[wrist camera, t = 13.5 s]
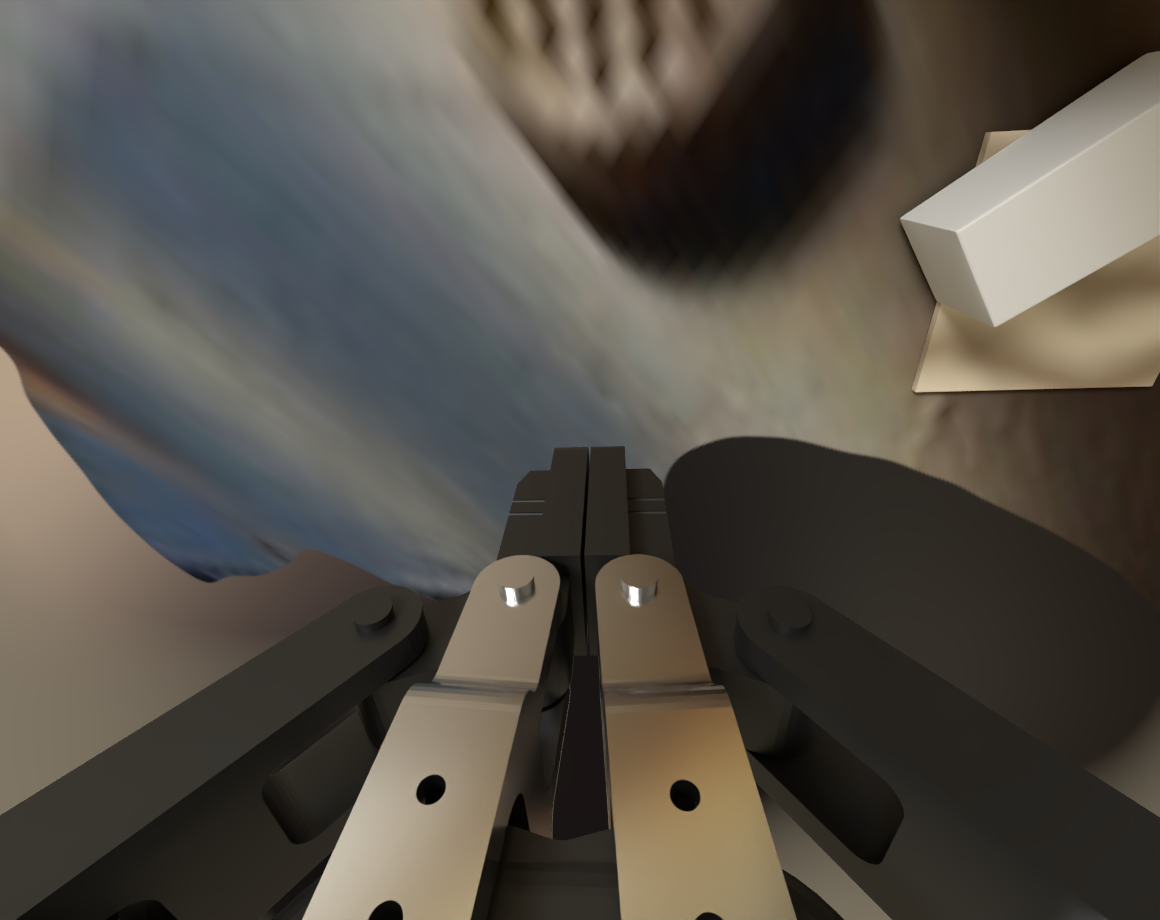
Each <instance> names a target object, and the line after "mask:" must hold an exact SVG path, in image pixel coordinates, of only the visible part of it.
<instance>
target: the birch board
mask: <svg viewBox="0 0 1160 920" xmlns="http://www.w3.org/2000/svg"><path fill="white" fill-rule="evenodd" d="M1029 131H1031V130H1019V131H1001V132H986V133H985V136H984V139H983V143H982V146H981V150H980V153H979V157H978V160H977V164H976V167H977V166H978V165H980V164H981V163H983V162H984V161H986V160H987V159H989V158H990V157H992V156H993V155H995V154H996V153H998V152H999V151H1001V150H1002V149H1004V148H1005V147H1007V146H1008V145H1010V144H1011V143H1013V142H1014V141H1016V140H1017V139H1019V138H1020V137H1022V136H1023V135H1025V134H1026V133H1028V132H1029ZM1159 372H1160V235H1159V236H1157V237H1155V238H1153V239H1152V240H1150V241H1148V242H1146V243H1144V244H1143V245H1141V246H1139V247H1137V248H1136V249H1134V250H1132V251H1130V252H1129V253H1127V254H1125V255H1123V256H1121V257H1120V258H1118V259H1116V260H1114V261H1113V262H1111V263H1109V264H1107V265H1105V266H1104V267H1102V268H1100V269H1098V270H1097V271H1095V272H1093V273H1091V274H1089V275H1088V276H1086V277H1084V278H1082V279H1081V280H1079V281H1077V282H1075V283H1074V284H1072V285H1070V286H1068V287H1066V288H1065V289H1063V290H1061V291H1059V292H1058V293H1056V294H1054V295H1052V296H1050V297H1049V298H1047V299H1045V300H1043V301H1042V302H1040V303H1038V304H1036V305H1034V306H1033V307H1031V308H1029V309H1027V310H1026V311H1024V312H1022V313H1020V314H1019V315H1017V316H1015V317H1013V318H1011V319H1010V320H1008V321H1006V322H1004V323H1003V324H1001V325H999V326H997V327H991V326H989V325H987V324H985V323H983V322H980V321H978V320H976V319H974V318H972V317H970V316H968V315H965V314H963V313H961V312H959V311H957V310H955V309H953V308H950V307H948V306H946V305H944V304H942V303H940V302H938V301H937V303H936V307H935V310H934V314H933V317H932V320H931V324H930V327H929V331H928V334H927V338H926V341H925V345H924V348H923V352H922V355H921V359H920V362H919V366H918V369H917V373H916V376H915V380H914V383H913V387H912V390H913V391H914V392H945V391H984V390H1023V389H1063V388H1102V387H1141V386H1152V385H1153V384H1154V382H1155V380H1156V378H1157V376H1158V374H1159Z"/></svg>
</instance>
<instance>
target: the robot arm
mask: <svg viewBox="0 0 1160 920" xmlns="http://www.w3.org/2000/svg"><path fill="white" fill-rule="evenodd" d="M588 627H589V642H590V643H589V644H590V655H598V656H599V676H600V699H601V714H602V728H603V744H604V758H605V772H606V786H607V787H606V788H607V802H608V818H609V829H608V830H605V831H601V832H597V833H593V834H590V835H586V836H582V837H578V838H575V839H571V840H565V841H560V840H559V841H558V840H554V839H552V816H553V804H554V797H555V790H556V784H557V777H558V770H559V764H560V758H561V751H562V745H563V739H564V732H565V726H566V719H567V713H568V706H569V700H570V682H571V678H572V668H573V655H586V653H587V629H588ZM353 707H356V710H357V711H356V712H355V713H354V714H352V715H351V716H350V717H349V718H347V719H346V720H345V721H343V722H342V723H341V724H340V725H338V726H337V727H336V728H334V729H333V730H332V731H330V732H329V733H328V734H326V735H325V736H324V737H323V738H321V739H320V740H319V741H318V742H316V743H315V744H314V745H312V746H311V747H310V748H308V749H307V750H306V751H305V752H303V753H302V754H301V755H299V756H298V757H297V758H295V759H294V760H293V761H292V762H290V763H289V764H288V765H287V766H285V767H284V768H283V769H281V770H280V771H278V772H277V773H275V774H273V775H272V776H269V775H270V774H271V772H272V771H273V770H274V769H275V768H276V767H277V766H278V765H279V764H280V763H282V762H283V761H284V760H285V759H287V758H288V757H289V756H291V755H292V754H293V753H294V752H296V751H297V750H298V749H300V748H301V747H302V746H304V745H305V744H306V743H307V742H309V741H310V740H311V739H313V738H314V737H315V736H317V735H318V734H319V733H321V732H322V731H323V730H324V729H326V728H327V727H328V726H330V725H331V724H332V723H334V722H335V721H336V720H338V719H339V718H340V717H341V716H343V715H344V714H345V713H347V712H348V711H349V710H351V709H352V708H353ZM268 776H269V777H268ZM755 782H756V783H758V785H759V786H760V787H761V788H762V789H763V790H764V791H765V792H766V793H767V794H768V795H769V796H770V797H771V798H772V799H773V800H774V801H775V802H776V803H777V804H778V805H779V806H780V807H781V808H782V809H783V810H784V811H785V812H786V813H787V814H788V815H789V816H790V817H791V818H792V819H793V820H794V821H795V822H796V823H797V824H798V825H799V826H800V827H801V828H802V829H803V830H804V831H805V832H806V833H807V834H808V835H809V836H810V837H811V838H812V839H813V840H814V841H815V842H816V843H817V844H818V845H819V846H820V847H821V848H822V849H823V850H824V851H825V852H826V853H827V854H828V855H829V856H830V857H831V858H832V859H833V860H834V861H835V862H836V863H837V864H838V865H839V866H840V867H841V868H842V869H843V870H844V871H845V872H846V873H847V874H848V876H850V877H851V879H852V880H853V881H854V882H855V883H856V884H857V885H858V886H859V887H860V888H861V889H862V890H863V891H864V892H865V893H866V894H867V895H868V896H869V897H870V898H871V899H872V900H873V901H874V902H875V903H876V904H877V905H878V906H879V907H880V908H881V909H882V910H883V911H884V912H885V913H886V914H887V915H888V916H889V917H890V918H891V919H892V920H1160V817H1158V816H1156V815H1155V814H1153V813H1152V812H1150V811H1149V810H1147V809H1146V808H1144V807H1143V806H1141V805H1139V804H1138V803H1136V802H1135V801H1133V800H1132V799H1130V798H1128V797H1127V796H1125V795H1124V794H1122V793H1121V792H1119V791H1117V790H1116V789H1114V788H1113V787H1111V786H1110V785H1108V784H1107V783H1105V782H1103V781H1102V780H1100V779H1099V778H1097V777H1096V776H1094V775H1093V774H1091V773H1089V772H1088V771H1086V770H1085V769H1083V768H1082V767H1080V766H1078V765H1077V764H1075V763H1074V762H1072V761H1071V760H1069V759H1068V758H1066V757H1064V756H1063V755H1061V754H1060V753H1058V752H1057V751H1055V750H1053V749H1052V748H1050V747H1049V746H1047V745H1046V744H1044V743H1043V742H1041V741H1039V740H1038V739H1036V738H1034V737H1033V736H1031V735H1030V734H1028V733H1027V732H1025V731H1024V730H1022V729H1021V728H1019V727H1018V726H1016V725H1014V724H1013V723H1011V722H1010V721H1008V720H1007V719H1005V718H1003V717H1002V716H1000V715H999V714H997V713H996V712H994V711H993V710H991V709H989V708H988V707H986V706H985V705H983V704H981V703H980V702H978V701H977V700H975V699H974V698H972V697H971V696H969V695H967V694H966V693H964V692H963V691H961V690H960V689H958V688H957V687H955V686H953V685H952V684H950V683H949V682H947V681H945V680H944V679H943V678H941V677H939V676H938V675H936V674H935V673H933V672H932V671H930V670H928V669H927V668H925V667H924V666H922V665H921V664H919V663H917V662H916V661H914V660H913V659H911V658H910V657H908V656H907V655H905V654H903V653H902V652H900V651H899V650H897V649H895V648H894V647H893V646H891V645H889V644H888V643H886V642H885V641H883V640H882V639H880V638H878V637H877V636H875V635H874V634H872V633H871V632H869V631H867V630H866V629H864V628H863V627H861V626H860V625H858V624H856V623H855V622H853V621H852V620H850V619H849V618H847V617H846V616H844V615H842V614H841V613H839V612H838V611H836V610H834V609H833V608H831V607H830V606H828V605H827V604H825V603H823V602H822V601H821V600H819V599H817V598H816V597H814V596H812V595H810V594H808V593H806V592H803V591H801V590H798V589H795V588H790V587H785V586H766V587H761V588H758V589H755V590H753V591H751V592H749V593H748V594H747V595H746V596H744V597H743V599H742V600H741V602H740V603H736V602H732V601H728V600H724V599H720V598H716V597H713V596H709V595H707V594H704V593H702V592H700V591H698V590H697V589H695V588H693V587H692V586H690V585H689V584H688V583H687V582H686V581H685V580H684V579H683V578H682V576H681V575H680V573H679V572H678V570H677V569H676V566H675V562H674V556H673V549H672V543H671V536H670V530H669V524H668V517H667V514H666V506H665V501H664V492H663V486H662V482H661V480H660V479H659V478H658V477H657V476H656V475H655V474H654V473H653V472H652V471H651V469H626V465H625V447H624V446H615V447H591V454H590V461H589V448H588V447H570V448H555V449H554V454H553V459H552V465H551V470H549V471H530V472H529V473H528V474H527V475H526V476H525V477H524V478H523V479H522V480H521V481H520V482H519V483H518V484H517V488H516V491H515V495H514V499H513V503H512V506H511V510H510V516H509V517H508V521H507V524H506V528H505V532H504V535H503V539H502V543H501V546H500V550H499V554H498V557H497V561H496V562H494V563H492V564H490V565H489V566H487V567H486V568H485V569H484V570H483V571H481V573H480V574H479V575H478V576H477V578H476V580H475V582H474V584H473V587H472V589H471V591H469V592H468V593H465V594H463V595H460V596H458V597H454V598H451V599H447V600H443V601H439V602H435V603H431V604H427V605H423V606H422V604H421V600H420V599H419V597H418V595H417V594H416V593H415V592H413V591H412V590H410V589H408V588H405V587H401V586H392V585H389V586H380V587H375V588H372V589H369V590H366V591H363V592H361V593H359V594H357V595H355V596H353V597H351V598H350V599H348V600H346V601H345V602H343V603H342V604H340V605H338V606H337V607H335V608H334V609H332V610H330V611H329V612H327V613H326V614H324V615H322V616H321V617H319V618H318V619H316V620H314V621H313V622H311V623H309V624H308V625H306V626H305V627H303V628H301V629H300V630H298V631H297V632H295V633H293V634H292V635H290V636H288V637H287V638H285V639H284V640H282V641H280V642H279V643H277V644H276V645H274V646H272V647H271V648H269V649H268V650H266V651H264V652H263V653H261V654H259V655H258V656H256V657H255V658H253V659H251V660H250V661H248V662H247V663H245V664H244V665H242V666H240V667H239V668H237V669H235V670H234V671H232V672H231V673H229V674H227V675H226V676H224V677H222V678H221V679H219V680H218V681H216V682H215V683H213V684H211V685H210V686H208V687H206V688H205V689H203V690H201V691H200V692H198V693H197V694H195V695H194V696H192V697H190V698H189V699H187V700H185V701H184V702H182V703H181V704H179V705H177V706H176V707H174V708H172V709H171V710H169V711H168V712H166V713H165V714H163V715H161V716H160V717H158V718H156V719H155V720H153V721H152V722H150V723H148V724H147V725H145V726H143V727H142V728H141V729H139V730H137V731H135V732H134V733H132V734H131V735H129V736H128V737H126V738H124V739H123V740H121V741H119V742H118V743H116V744H114V745H113V746H111V747H110V748H108V749H106V750H105V751H103V752H102V753H100V754H98V755H97V756H95V757H94V758H92V759H90V760H89V761H87V762H86V763H84V764H83V765H81V766H79V767H78V768H76V769H74V770H73V771H71V772H69V773H68V774H66V775H65V776H63V777H61V778H60V779H58V780H57V781H55V782H53V783H52V784H50V785H49V786H47V787H45V788H44V789H42V790H40V791H39V792H37V793H36V794H34V795H32V796H31V797H29V798H28V799H26V800H24V801H23V802H21V803H19V804H18V805H16V806H15V807H13V808H12V809H10V810H8V811H7V812H5V813H3V814H2V815H1V816H0V920H258V919H259V918H260V917H261V916H262V915H264V914H265V913H266V912H267V911H268V910H269V909H270V908H271V907H272V906H273V905H274V904H275V903H277V902H278V900H280V899H281V898H282V897H283V896H284V895H285V894H286V893H287V892H288V891H289V890H291V889H292V888H293V887H294V886H295V885H296V884H297V883H298V882H299V881H300V880H301V879H302V878H304V877H305V876H306V875H307V874H308V873H309V872H310V871H311V870H312V869H313V868H314V867H315V866H316V865H318V864H319V863H320V862H321V861H322V860H323V859H324V858H325V857H326V856H327V855H328V854H329V853H331V852H332V851H333V850H334V851H333V853H332V855H331V857H330V860H329V862H328V864H327V866H326V868H325V871H324V873H323V875H322V876H321V877H319V878H318V879H317V880H316V881H314V882H313V883H312V884H311V885H309V886H308V887H307V888H306V889H304V890H303V891H302V892H301V893H300V894H298V895H297V896H296V897H295V898H294V899H293V900H292V901H291V902H290V903H289V904H288V905H287V906H286V907H285V908H284V909H283V910H282V911H280V912H279V913H278V914H277V915H276V916H275V917H274V918H273V919H272V920H844V919H843V918H842V917H841V916H840V915H839V914H838V913H837V912H836V911H835V910H834V909H833V908H832V907H831V906H829V905H828V904H827V903H826V902H825V901H824V900H823V899H822V898H821V897H820V896H819V895H818V894H817V893H815V892H814V891H812V890H811V889H810V888H809V887H807V886H806V885H805V884H803V883H802V882H801V881H799V880H798V879H797V878H795V877H794V876H792V875H791V874H789V873H788V872H786V871H784V870H783V869H781V866H780V862H779V859H778V856H777V852H776V849H775V846H774V842H773V840H772V836H771V833H770V829H769V826H768V823H767V819H766V816H765V813H764V810H763V806H762V803H761V800H760V797H759V793H758V790H757V787H756V783H755Z"/></svg>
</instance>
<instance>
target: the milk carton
mask: <svg viewBox="0 0 1160 920" xmlns="http://www.w3.org/2000/svg"><path fill="white" fill-rule="evenodd" d="M900 221H901V223H902V225H903V228H904V230H905V232H906V235H907V237H908V239H909V241H910V244H911V246H912V248H913V250H914V253H915V255H916V257H917V259H918V261H919V264H920V266H921V268H922V270H923V273H924V275H925V277H926V279H927V282H928V284H929V286H930V288H931V290H932V293H933V295H934V297H935V299H936V300H937V301H938V302H940V303H942V304H944V305H946V306H948V307H950V308H953V309H955V310H957V311H959V312H961V313H963V314H965V315H968V316H970V317H972V318H974V319H976V320H978V321H980V322H983V323H985V324H987V325H989V326H991V327H997V326H999V325H1001V324H1003V323H1004V322H1006V321H1008V320H1010V319H1011V318H1013V317H1015V316H1017V315H1019V314H1020V313H1022V312H1024V311H1026V310H1027V309H1029V308H1031V307H1033V306H1034V305H1036V304H1038V303H1040V302H1042V301H1043V300H1045V299H1047V298H1049V297H1050V296H1052V295H1054V294H1056V293H1058V292H1059V291H1061V290H1063V289H1065V288H1066V287H1068V286H1070V285H1072V284H1074V283H1075V282H1077V281H1079V280H1081V279H1082V278H1084V277H1086V276H1088V275H1089V274H1091V273H1093V272H1095V271H1097V270H1098V269H1100V268H1102V267H1104V266H1105V265H1107V264H1109V263H1111V262H1113V261H1114V260H1116V259H1118V258H1120V257H1121V256H1123V255H1125V254H1127V253H1129V252H1130V251H1132V250H1134V249H1136V248H1137V247H1139V246H1141V245H1143V244H1144V243H1146V242H1148V241H1150V240H1152V239H1153V238H1155V237H1157V236H1159V235H1160V51H1157V52H1151V53H1147V54H1145V55H1143V56H1142V57H1140V58H1138V59H1137V60H1135V61H1134V62H1132V63H1131V64H1129V65H1128V66H1126V67H1125V68H1123V69H1122V70H1120V71H1119V72H1117V73H1116V74H1114V75H1113V76H1111V77H1110V78H1108V79H1107V80H1105V81H1104V82H1102V83H1101V84H1099V85H1098V86H1096V87H1095V88H1093V89H1092V90H1090V91H1089V92H1087V93H1086V94H1084V95H1083V96H1081V97H1080V98H1078V99H1077V100H1075V101H1074V102H1072V103H1071V104H1069V105H1068V106H1066V107H1065V108H1063V109H1062V110H1060V111H1059V112H1057V113H1056V114H1054V115H1053V116H1051V117H1050V118H1048V119H1047V120H1045V121H1044V122H1042V123H1041V124H1039V125H1038V126H1036V127H1035V128H1033V129H1032V130H1031V131H1029V132H1028V133H1026V134H1025V135H1023V136H1022V137H1020V138H1019V139H1017V140H1016V141H1014V142H1013V143H1011V144H1010V145H1008V146H1007V147H1005V148H1004V149H1002V150H1001V151H999V152H998V153H996V154H995V155H993V156H992V157H990V158H989V159H987V160H986V161H984V162H983V163H981V164H980V165H978V166H977V167H975V168H974V169H972V170H971V171H969V172H968V173H966V174H965V175H963V176H962V177H960V178H959V179H957V180H956V181H954V182H953V183H951V184H950V185H948V186H947V187H945V188H944V189H942V190H941V191H939V192H938V193H936V194H935V195H933V196H932V197H931V198H929V199H928V200H926V201H925V202H923V203H922V204H920V205H919V206H917V207H916V208H914V209H913V210H911V211H910V212H908V213H907V214H905V215H904V216H902V217H901V218H900Z"/></svg>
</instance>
